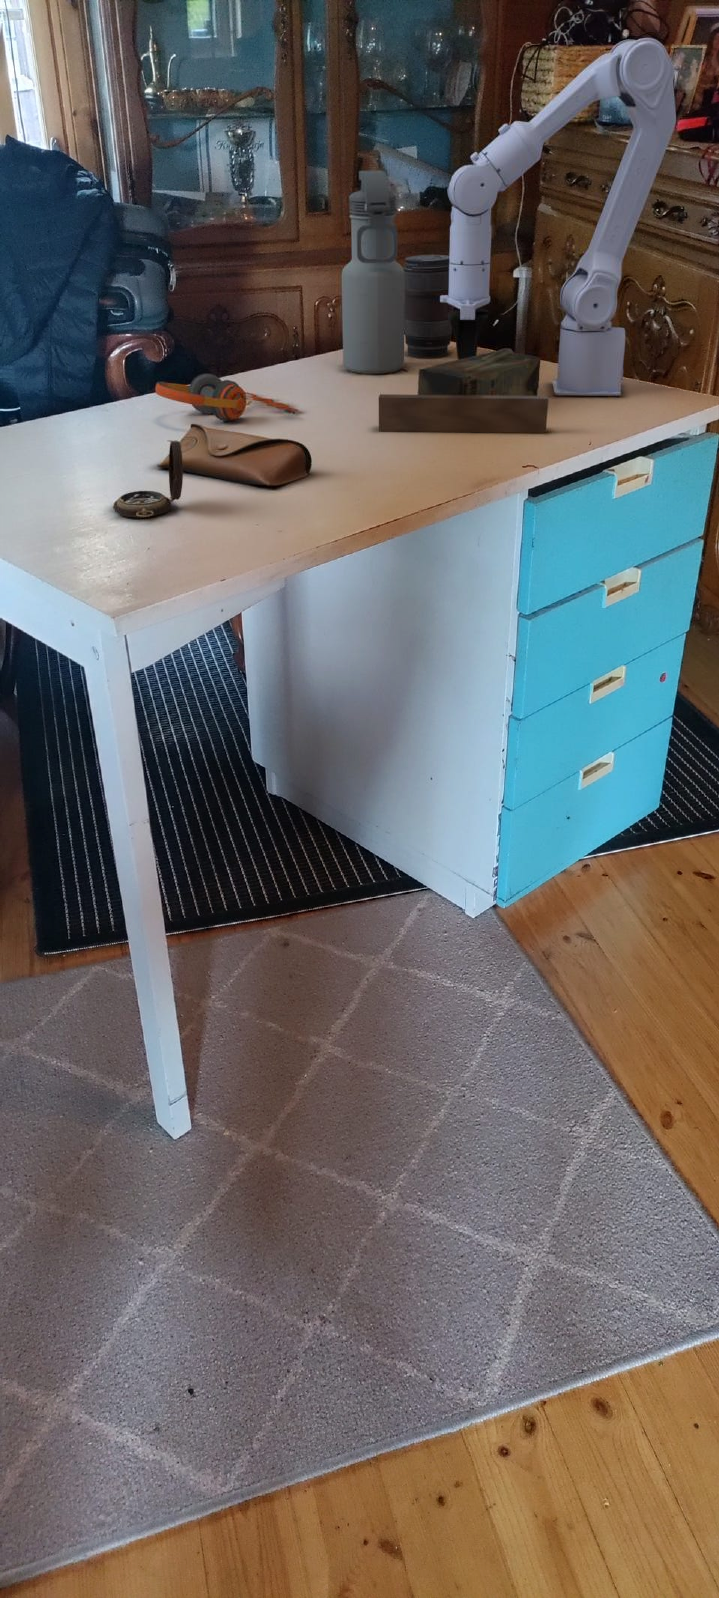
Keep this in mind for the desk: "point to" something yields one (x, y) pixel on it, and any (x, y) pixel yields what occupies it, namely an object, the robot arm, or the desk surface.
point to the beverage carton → (483, 375)
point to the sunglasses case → (242, 457)
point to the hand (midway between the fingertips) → (466, 364)
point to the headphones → (214, 396)
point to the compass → (151, 500)
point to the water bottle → (373, 282)
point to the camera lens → (427, 306)
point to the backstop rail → (463, 413)
